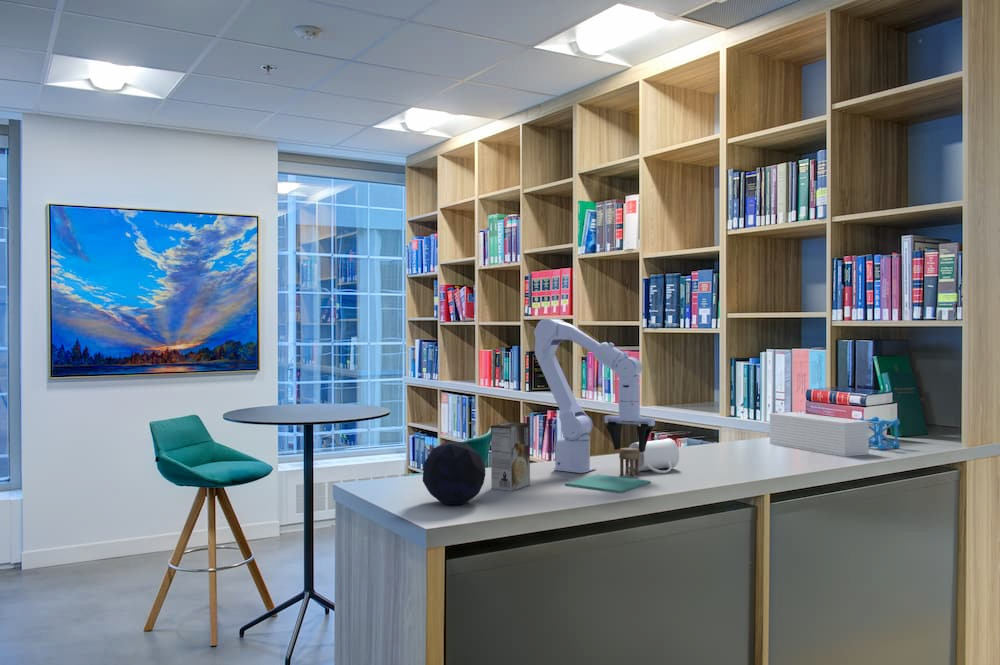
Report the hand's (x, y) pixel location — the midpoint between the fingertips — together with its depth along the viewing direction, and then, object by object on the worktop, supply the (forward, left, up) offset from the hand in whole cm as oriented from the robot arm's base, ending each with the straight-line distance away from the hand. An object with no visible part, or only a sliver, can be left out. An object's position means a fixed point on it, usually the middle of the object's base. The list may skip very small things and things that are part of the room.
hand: (629, 450), depth 217 cm
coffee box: (-16, -33, -7) cm, 37 cm away
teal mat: (+2, -15, -7) cm, 17 cm away
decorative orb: (-15, -56, -7) cm, 58 cm away
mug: (+5, +16, -3) cm, 18 cm away
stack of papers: (+27, +80, -7) cm, 85 cm away
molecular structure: (+43, +94, -7) cm, 104 cm away
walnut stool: (0, 0, -7) cm, 7 cm away
